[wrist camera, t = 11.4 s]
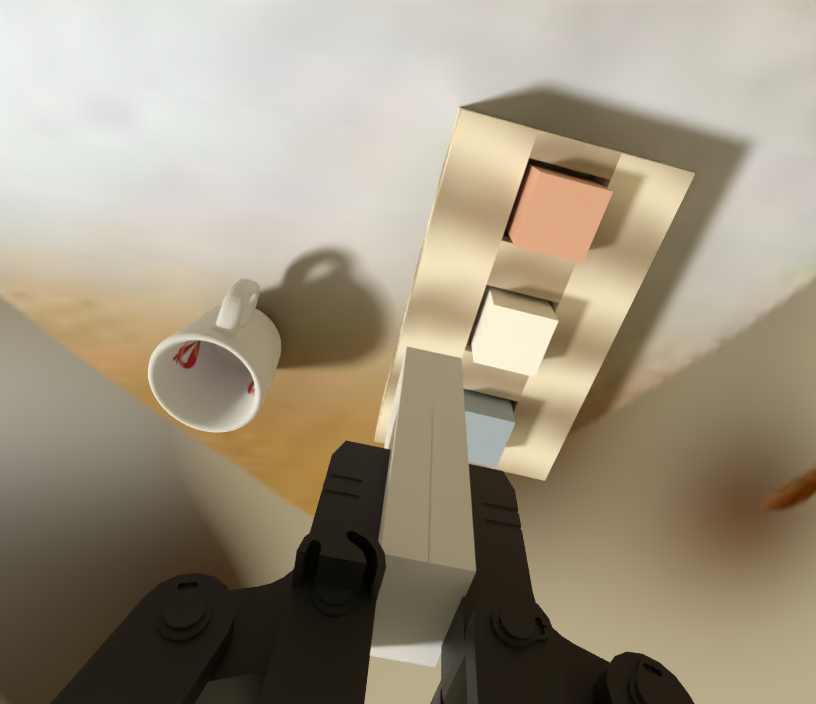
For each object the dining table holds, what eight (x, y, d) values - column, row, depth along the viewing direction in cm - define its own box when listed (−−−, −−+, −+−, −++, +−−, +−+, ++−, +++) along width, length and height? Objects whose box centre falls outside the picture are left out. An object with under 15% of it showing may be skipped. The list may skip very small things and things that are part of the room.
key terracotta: (526, 161, 31) (540, 171, 27) (589, 178, 32) (613, 191, 27) (504, 226, 33) (514, 245, 29) (564, 241, 33) (582, 263, 29)
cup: (216, 241, 37) (164, 276, 30) (316, 283, 38) (288, 325, 31) (188, 356, 42) (137, 410, 35) (278, 390, 43) (246, 449, 36)
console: (458, 107, 32) (461, 109, 28) (661, 162, 33) (695, 173, 29) (380, 405, 43) (373, 441, 39) (534, 441, 44) (544, 480, 40)
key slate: (455, 374, 39) (457, 408, 34) (507, 386, 39) (515, 422, 35) (441, 417, 41) (441, 455, 36) (490, 428, 41) (496, 468, 37)
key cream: (487, 278, 35) (493, 304, 31) (544, 293, 35) (558, 320, 31) (469, 331, 37) (473, 362, 33) (523, 344, 37) (534, 377, 33)
